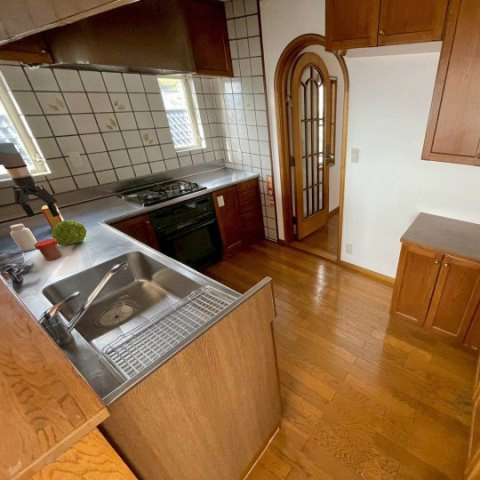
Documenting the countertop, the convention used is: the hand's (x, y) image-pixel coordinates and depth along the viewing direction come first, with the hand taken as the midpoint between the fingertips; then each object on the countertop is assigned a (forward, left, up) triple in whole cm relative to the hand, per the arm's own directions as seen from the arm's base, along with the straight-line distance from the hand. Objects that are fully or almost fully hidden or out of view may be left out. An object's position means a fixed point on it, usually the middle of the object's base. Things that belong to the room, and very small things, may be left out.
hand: (44, 216), depth 138 cm
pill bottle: (-22, +18, -23) cm, 37 cm away
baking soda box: (-17, +48, -23) cm, 56 cm away
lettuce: (0, +16, -23) cm, 29 cm away
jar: (-2, -8, -23) cm, 24 cm away
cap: (-2, -8, -12) cm, 14 cm away
